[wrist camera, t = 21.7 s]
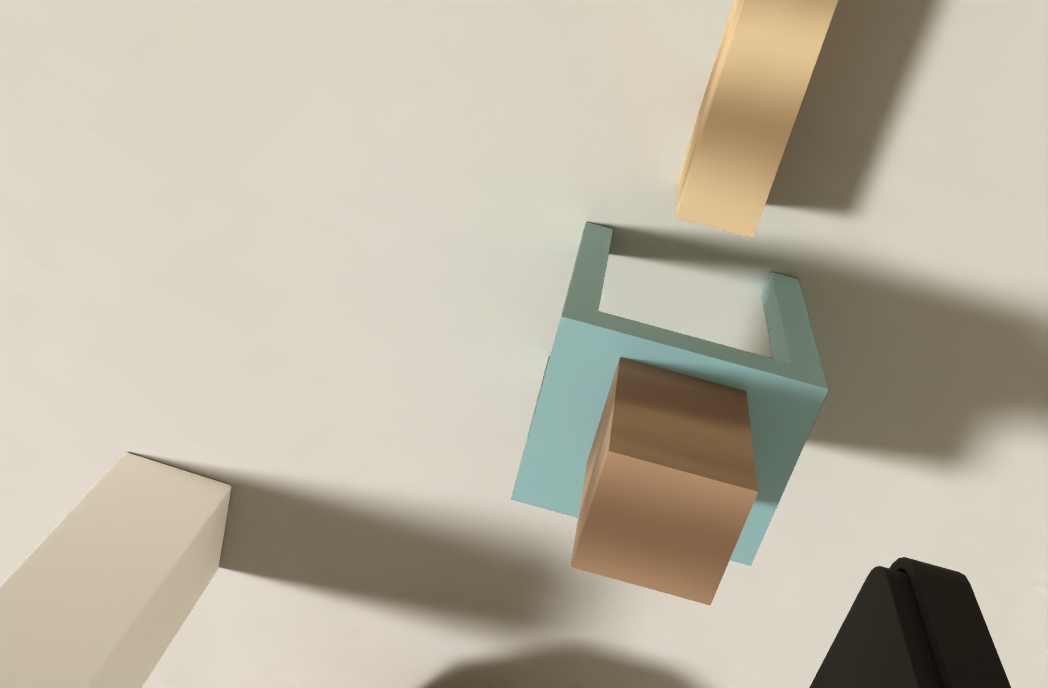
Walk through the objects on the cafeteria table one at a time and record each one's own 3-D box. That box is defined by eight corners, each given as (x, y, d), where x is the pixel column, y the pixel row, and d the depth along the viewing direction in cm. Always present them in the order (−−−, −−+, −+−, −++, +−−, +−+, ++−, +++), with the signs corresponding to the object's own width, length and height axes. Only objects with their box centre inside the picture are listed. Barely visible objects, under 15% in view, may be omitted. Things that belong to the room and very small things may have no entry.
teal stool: (586, 221, 42) (561, 316, 33) (798, 278, 42) (828, 389, 33) (543, 377, 46) (510, 499, 37) (737, 431, 45) (750, 565, 37)
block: (620, 356, 34) (608, 450, 28) (746, 391, 34) (758, 491, 28) (587, 461, 36) (570, 566, 30) (706, 493, 36) (710, 605, 30)
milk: (233, 483, 51) (-37, 870, 32) (219, 568, 54) (-37, 972, 34) (122, 449, 51) (-217, 814, 32) (114, 536, 54) (-202, 922, 34)
